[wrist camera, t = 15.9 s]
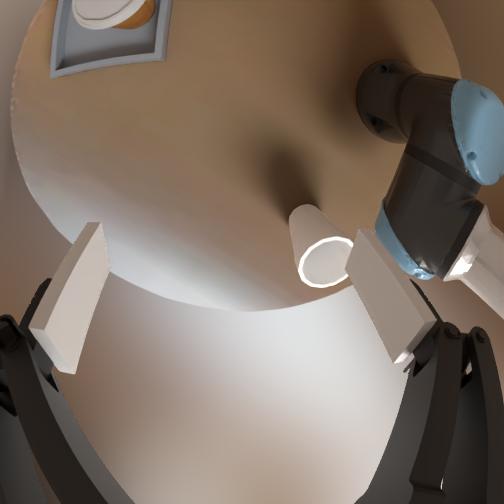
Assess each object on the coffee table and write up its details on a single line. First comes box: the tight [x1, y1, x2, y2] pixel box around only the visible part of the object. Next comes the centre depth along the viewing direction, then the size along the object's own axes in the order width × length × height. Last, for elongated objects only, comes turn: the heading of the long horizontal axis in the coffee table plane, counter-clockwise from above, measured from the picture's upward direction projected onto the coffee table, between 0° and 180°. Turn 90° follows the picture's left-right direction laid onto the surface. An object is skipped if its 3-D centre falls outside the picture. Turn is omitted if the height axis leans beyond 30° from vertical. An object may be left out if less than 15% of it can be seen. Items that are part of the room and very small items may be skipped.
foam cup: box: [289, 204, 354, 288], centre depth 44 cm, size 10×9×13 cm
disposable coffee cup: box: [72, 0, 156, 30], centre depth 19 cm, size 10×10×12 cm
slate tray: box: [50, 0, 173, 78], centre depth 22 cm, size 18×18×4 cm
